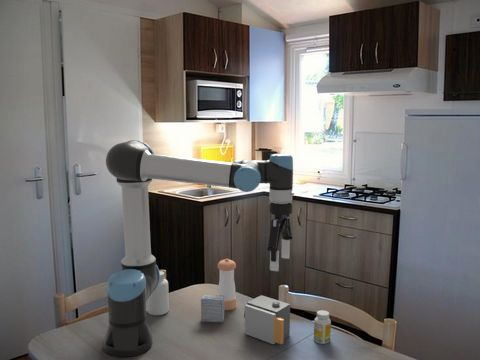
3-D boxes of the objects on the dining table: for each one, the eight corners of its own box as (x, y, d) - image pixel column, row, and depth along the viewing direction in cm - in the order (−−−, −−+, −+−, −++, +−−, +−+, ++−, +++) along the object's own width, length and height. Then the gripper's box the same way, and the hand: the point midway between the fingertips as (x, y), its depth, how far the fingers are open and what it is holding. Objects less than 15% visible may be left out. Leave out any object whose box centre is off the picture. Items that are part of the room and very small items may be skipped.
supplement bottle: (315, 344, 153) (315, 316, 152) (312, 336, 159) (313, 309, 157) (331, 344, 153) (332, 316, 152) (328, 336, 158) (329, 309, 157)
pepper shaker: (216, 303, 185) (216, 255, 182) (235, 302, 186) (235, 255, 183) (217, 310, 178) (217, 261, 175) (237, 310, 179) (237, 261, 176)
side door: (244, 333, 159) (245, 305, 158) (247, 332, 160) (247, 304, 158) (281, 347, 150) (281, 317, 148) (283, 345, 151) (284, 316, 149)
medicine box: (224, 317, 172) (224, 295, 171) (222, 323, 168) (222, 299, 167) (203, 316, 173) (202, 294, 172) (200, 322, 169) (200, 298, 167)
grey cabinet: (242, 331, 162) (242, 298, 160) (256, 323, 168) (256, 291, 166) (276, 344, 153) (276, 309, 151) (289, 335, 159) (290, 301, 157)
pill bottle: (158, 305, 183) (157, 268, 180) (173, 310, 178) (172, 272, 176) (142, 312, 176) (141, 273, 174) (158, 318, 172) (157, 278, 169)
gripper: (281, 209, 141) (280, 277, 145) (301, 195, 164) (299, 254, 168) (257, 208, 144) (257, 274, 147) (280, 194, 167) (279, 252, 170)
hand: (280, 264), depth 157 cm, fingers open, 13 cm apart
